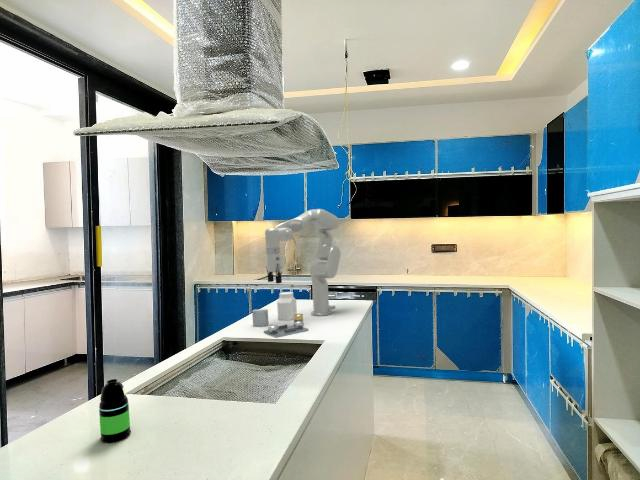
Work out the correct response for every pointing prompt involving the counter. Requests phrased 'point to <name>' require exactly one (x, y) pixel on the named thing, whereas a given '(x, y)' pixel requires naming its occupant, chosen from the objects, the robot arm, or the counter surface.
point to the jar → (286, 306)
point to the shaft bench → (286, 329)
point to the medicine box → (260, 317)
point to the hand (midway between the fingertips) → (274, 282)
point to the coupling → (298, 317)
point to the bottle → (114, 413)
